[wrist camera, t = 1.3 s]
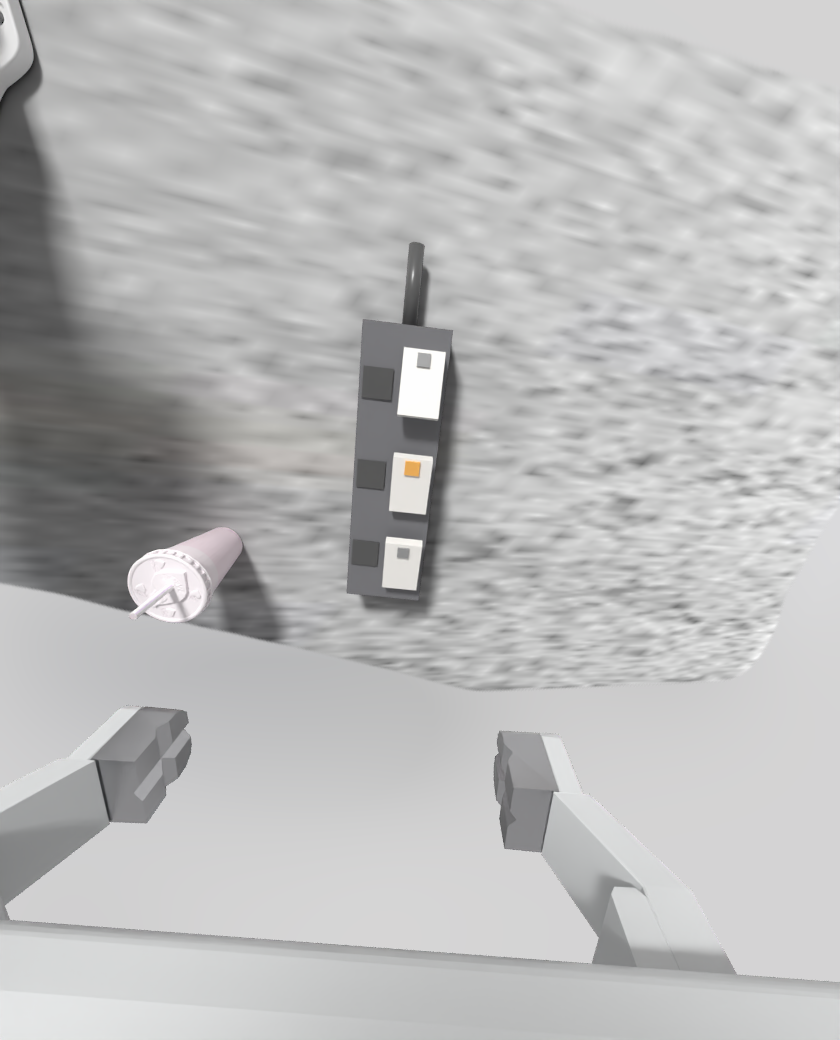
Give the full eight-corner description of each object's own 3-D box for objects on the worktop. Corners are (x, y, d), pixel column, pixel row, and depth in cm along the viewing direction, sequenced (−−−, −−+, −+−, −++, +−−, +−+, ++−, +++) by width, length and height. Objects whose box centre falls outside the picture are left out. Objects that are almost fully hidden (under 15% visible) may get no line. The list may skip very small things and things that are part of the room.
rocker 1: (404, 351, 30) (403, 346, 29) (444, 356, 30) (446, 351, 29) (397, 416, 31) (397, 413, 30) (437, 420, 31) (438, 418, 30)
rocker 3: (386, 536, 34) (385, 544, 33) (422, 540, 34) (422, 547, 33) (383, 580, 37) (381, 588, 36) (416, 583, 37) (416, 591, 36)
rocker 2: (394, 452, 32) (393, 457, 31) (432, 456, 32) (432, 462, 31) (390, 505, 34) (388, 511, 33) (425, 509, 34) (425, 515, 33)
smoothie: (268, 546, 40) (193, 625, 27) (228, 582, 42) (138, 674, 28) (220, 501, 39) (116, 561, 25) (180, 540, 40) (61, 616, 27)
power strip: (374, 245, 31) (367, 225, 28) (459, 257, 32) (464, 238, 28) (353, 574, 41) (346, 594, 37) (418, 580, 41) (418, 601, 37)
